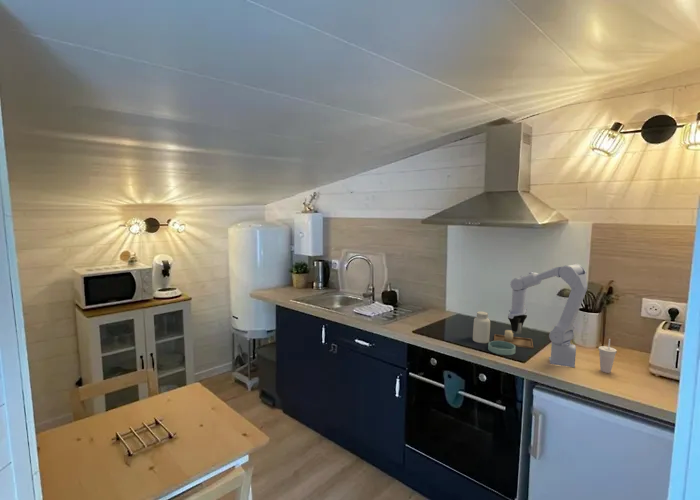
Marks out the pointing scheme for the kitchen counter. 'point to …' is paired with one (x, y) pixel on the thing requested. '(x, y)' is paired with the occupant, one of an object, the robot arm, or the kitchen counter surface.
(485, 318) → the pill bottle
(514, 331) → the pebble
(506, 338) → the pebble
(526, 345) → the tray
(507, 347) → the bowl
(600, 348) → the smoothie
